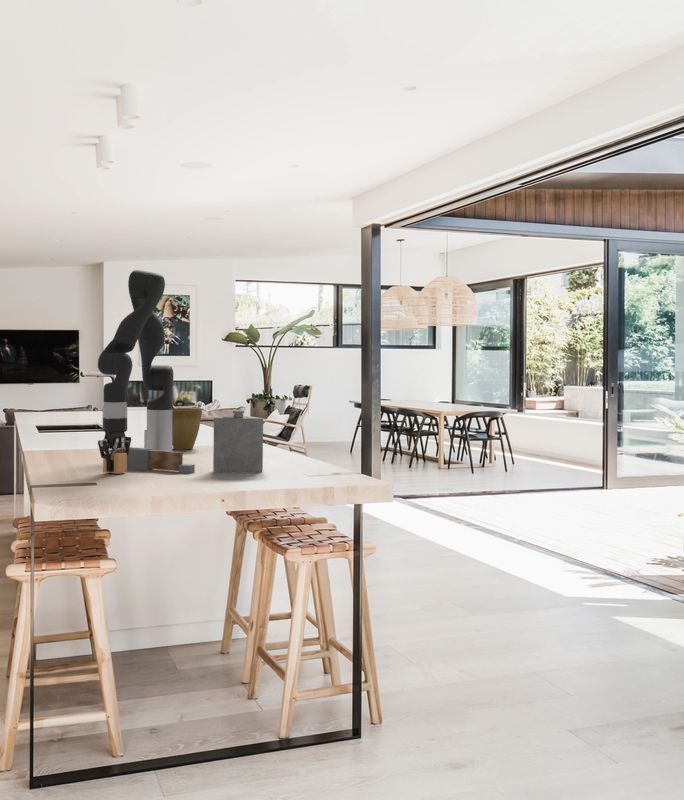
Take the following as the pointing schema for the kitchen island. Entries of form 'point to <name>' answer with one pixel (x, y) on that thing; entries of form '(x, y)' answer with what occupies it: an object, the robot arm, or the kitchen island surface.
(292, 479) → the kitchen island surface
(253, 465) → the hip flask
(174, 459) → the gate
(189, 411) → the plant pot
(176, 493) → the kitchen island surface
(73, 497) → the kitchen island surface
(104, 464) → the orange block
